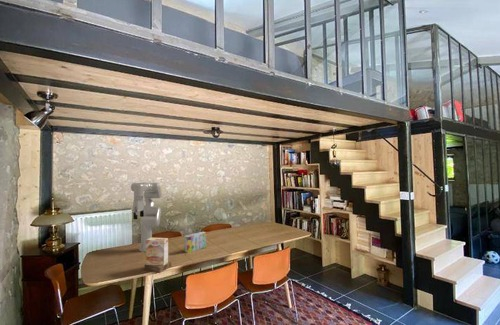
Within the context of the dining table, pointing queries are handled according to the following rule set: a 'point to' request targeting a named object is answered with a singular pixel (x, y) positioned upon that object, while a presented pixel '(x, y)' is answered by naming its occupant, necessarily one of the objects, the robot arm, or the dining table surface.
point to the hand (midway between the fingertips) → (138, 217)
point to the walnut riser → (157, 267)
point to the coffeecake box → (157, 251)
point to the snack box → (194, 242)
